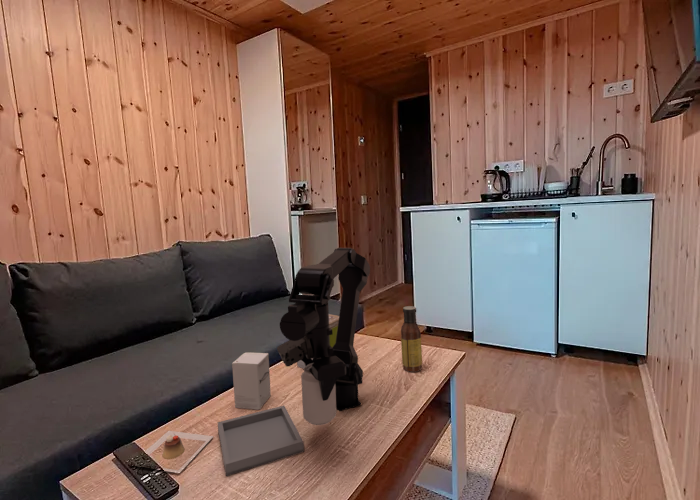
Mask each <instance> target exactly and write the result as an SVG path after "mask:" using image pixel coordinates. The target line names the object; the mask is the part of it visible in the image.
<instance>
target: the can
mask: <svg viewBox="0 0 700 500" xmlns="http://www.w3.org/2000/svg"><path fill="white" fill-rule="evenodd" d="M312 364H313V363H311V364H308V365H307V366H305V367H304V369H303V372H302V373H301V375H300V378H301V379H300V380H301V396H302V398H301V399H302V400H301V401H302V415H303V416H302V417H303V419H304V420H305V421H306V422H308V424H311V425H312V426H324V425H327V424H329V423H330V422H332V421H333V419H335V417H336V416H337V408H336V388H335V385H334V387H333V389H332V391H331V394H330V396H329V398H328V400H325V401H323V400H322V396H321V391H320V386H319V381H318V380H316V379H315V378H314V376H313V375H312V374H311V373H313V371H312Z"/></svg>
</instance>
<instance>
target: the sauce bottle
mask: <svg viewBox="0 0 700 500" xmlns="http://www.w3.org/2000/svg"><path fill="white" fill-rule="evenodd" d="M402 309H403V310H402V312H403V323H402V325H401V328H400V334H401V335H400V336H401V337H400V341H401V363H402V364H401V365H402V368H403V370H404V369H405V371H407V372H409V371H417V372H419V371H421V370H422V369H423V354H422V333H421V330H420V328H419V325H418V322H417V316H416V315H417V314H416V313H417V308H416V306H413V305H412V306H411V305H408V306H404V307H402ZM421 368H422V369H421ZM420 369H421V370H420ZM418 370H419V371H418Z"/></svg>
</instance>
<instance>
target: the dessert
mask: <svg viewBox="0 0 700 500" xmlns="http://www.w3.org/2000/svg"><path fill="white" fill-rule="evenodd" d="M213 438H214V435H208V434H207V435H206V434H200V433H199V434H198V433H190V432H183V431H175V430H167V432H165V433H164V434H163V435H162V436H161V437H159V438H158V439H157V440H156V441H154V443H152V444H151V445H150V446H149V447H148V448H147V449H145V450H144V451H143V452H145V453H146V454H148V455H149V456H150V455H151V454H153V452H155V451H156V450H157V449H158V448H159V447H160V446H161V445H163V443H164V445H163V446H164V447H163V450H162V454H161V455H162V456H161V457H162V459H164V460H173V459H176V458H179V457H180V456H182V455H183V454H184V453H185V451H186V448H185V446H184V443H183V442H182V439H186V440H193V441H202V442H203V441H204V442H203V444H201V446H200V447H199V448H198V449H197V450H196V451H195V452H194V453H193V454H192V455H191V457H189V458H188V459H187V460H186V461H185V463H184V464H183V465H182V466H181V467H180V468H178V469H171V468H165V467H162V468H163V470H164V471H163V472H168V473H175V474H180V473H181V472H182V471H183V470H184V469H185V468H186V467H187V466H188V465H189V464H190V463H191V461H192V460H193V459H194V458H196V456H197V455H198V454H199V453H200V452H201V451H203V448H204V447H205V446H206V445H207V444H208V443H209V442H210V441H211V440H212V439H213Z"/></svg>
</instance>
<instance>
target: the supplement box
mask: <svg viewBox="0 0 700 500" xmlns="http://www.w3.org/2000/svg"><path fill="white" fill-rule="evenodd" d="M269 358H270V357H269V353H268V352H266V353H265V352H244V353H242V354H241V355H240V356H239V357H237V358H236V360H234V361H233V362H232V363H231V366H232V381H233V383H232V384H233V393H234V394H233V396H234V408H235V409H236V408H237V409H244V410H257V411H259V410H260V411H261V409H262V407H263V406H264V405H265V403H266V402H267V401H268V399H270V397H271V396H272V395H271V394H272V393H271V377H270V376H271V375H270V373H271V372H270V361H269Z"/></svg>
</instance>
